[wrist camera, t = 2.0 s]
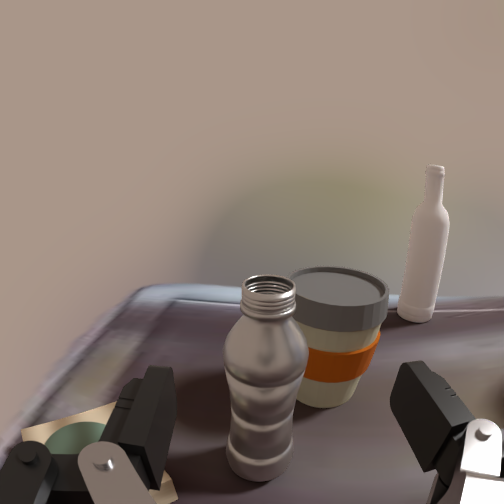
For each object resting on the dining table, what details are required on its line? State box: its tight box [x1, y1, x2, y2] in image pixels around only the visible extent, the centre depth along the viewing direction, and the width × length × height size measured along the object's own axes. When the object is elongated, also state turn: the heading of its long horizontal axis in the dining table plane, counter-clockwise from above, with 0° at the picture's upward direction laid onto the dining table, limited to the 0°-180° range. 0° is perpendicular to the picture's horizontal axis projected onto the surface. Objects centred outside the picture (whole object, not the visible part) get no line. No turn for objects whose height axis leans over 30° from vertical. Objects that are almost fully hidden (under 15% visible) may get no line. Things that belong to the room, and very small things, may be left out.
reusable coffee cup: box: [286, 266, 389, 408], centre depth 37 cm, size 13×13×15 cm
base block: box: [21, 401, 178, 504], centre depth 21 cm, size 12×12×4 cm
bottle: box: [397, 164, 450, 323], centre depth 54 cm, size 8×8×30 cm
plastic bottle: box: [223, 275, 309, 482], centre depth 24 cm, size 6×7×20 cm
